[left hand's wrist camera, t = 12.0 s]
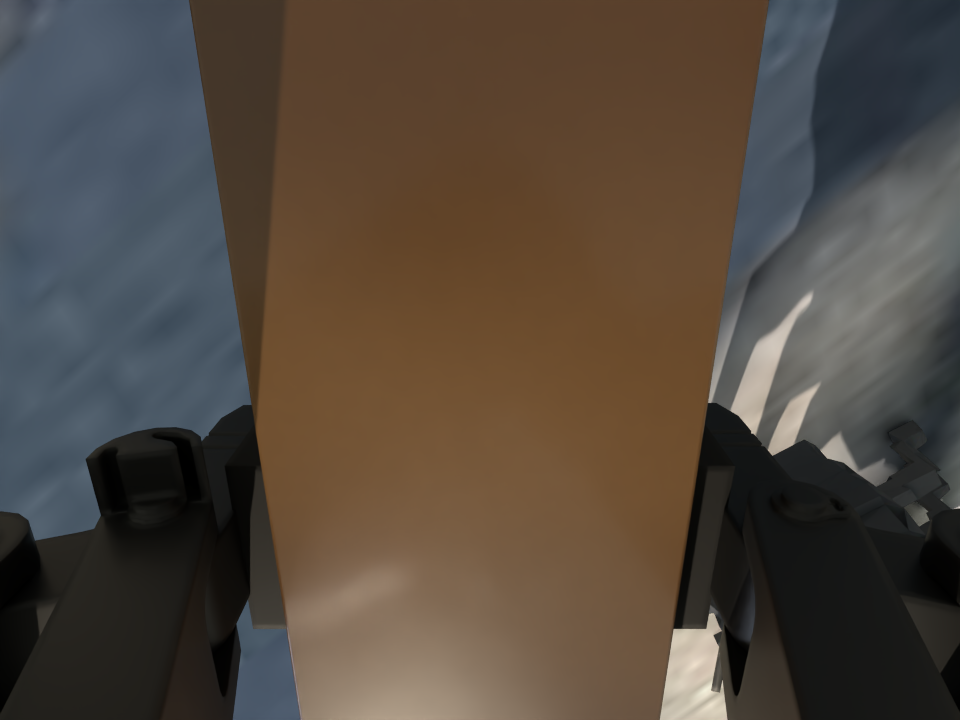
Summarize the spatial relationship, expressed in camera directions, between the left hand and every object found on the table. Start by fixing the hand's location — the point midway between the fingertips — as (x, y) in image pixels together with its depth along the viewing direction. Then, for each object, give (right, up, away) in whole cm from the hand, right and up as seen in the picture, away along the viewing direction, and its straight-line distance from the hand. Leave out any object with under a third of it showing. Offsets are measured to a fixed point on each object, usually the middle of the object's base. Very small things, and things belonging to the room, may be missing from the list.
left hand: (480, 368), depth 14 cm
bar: (0, +23, -9) cm, 25 cm away
